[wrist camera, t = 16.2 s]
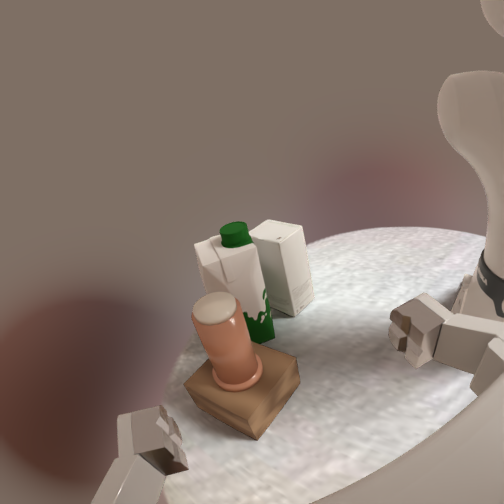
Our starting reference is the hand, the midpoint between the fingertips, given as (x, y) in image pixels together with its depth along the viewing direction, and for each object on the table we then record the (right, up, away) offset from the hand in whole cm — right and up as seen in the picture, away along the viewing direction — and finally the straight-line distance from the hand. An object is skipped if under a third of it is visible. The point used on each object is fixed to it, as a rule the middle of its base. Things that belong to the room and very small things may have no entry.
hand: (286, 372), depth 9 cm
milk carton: (-2, -11, +45) cm, 46 cm away
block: (-2, -17, +33) cm, 37 cm away
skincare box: (+6, -6, +50) cm, 51 cm away
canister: (-3, -12, +30) cm, 32 cm away
